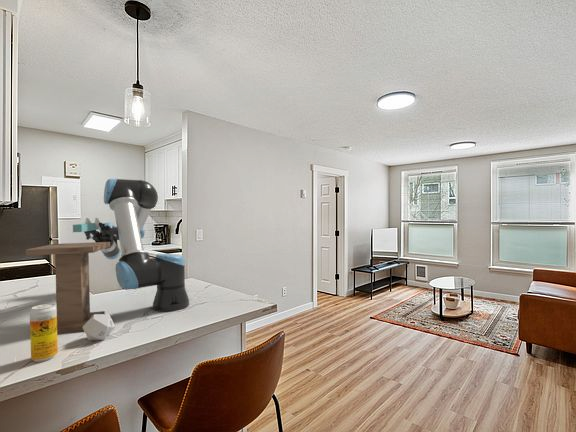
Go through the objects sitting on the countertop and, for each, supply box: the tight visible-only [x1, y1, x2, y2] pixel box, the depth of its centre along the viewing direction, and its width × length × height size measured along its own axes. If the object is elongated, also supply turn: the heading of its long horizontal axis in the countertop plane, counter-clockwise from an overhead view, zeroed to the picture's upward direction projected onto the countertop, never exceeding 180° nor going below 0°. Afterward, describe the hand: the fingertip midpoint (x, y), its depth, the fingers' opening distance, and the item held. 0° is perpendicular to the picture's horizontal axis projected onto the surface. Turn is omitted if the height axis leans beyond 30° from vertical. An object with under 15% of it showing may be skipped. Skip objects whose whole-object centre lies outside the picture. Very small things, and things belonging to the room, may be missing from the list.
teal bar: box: [72, 222, 99, 233], centre depth 135 cm, size 26×3×3 cm, turn 15°
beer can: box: [29, 303, 59, 363], centre depth 90 cm, size 6×6×15 cm
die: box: [82, 313, 116, 341], centre depth 103 cm, size 8×9×10 cm
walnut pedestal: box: [25, 241, 110, 335], centre depth 116 cm, size 20×20×30 cm
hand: (91, 220), depth 139 cm, fingers closed on teal bar, 3 cm apart
